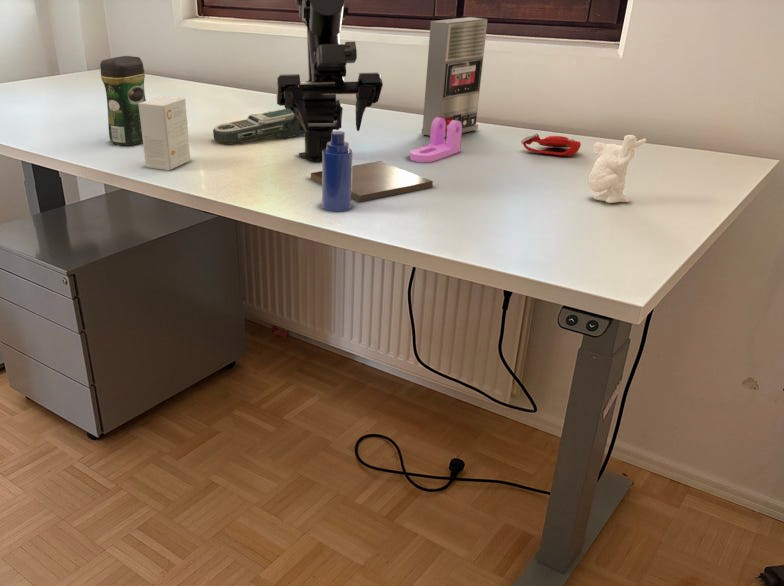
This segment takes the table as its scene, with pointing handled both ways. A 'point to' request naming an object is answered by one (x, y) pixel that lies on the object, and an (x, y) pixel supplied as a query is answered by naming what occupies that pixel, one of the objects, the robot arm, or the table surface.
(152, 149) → the small box
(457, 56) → the cassette tape recorder
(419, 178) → the walnut board
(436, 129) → the bracket
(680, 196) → the table surface
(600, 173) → the white crouching figurine
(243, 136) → the communication device
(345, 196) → the blue bottle
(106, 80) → the coffee jar
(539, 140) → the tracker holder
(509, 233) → the table surface
